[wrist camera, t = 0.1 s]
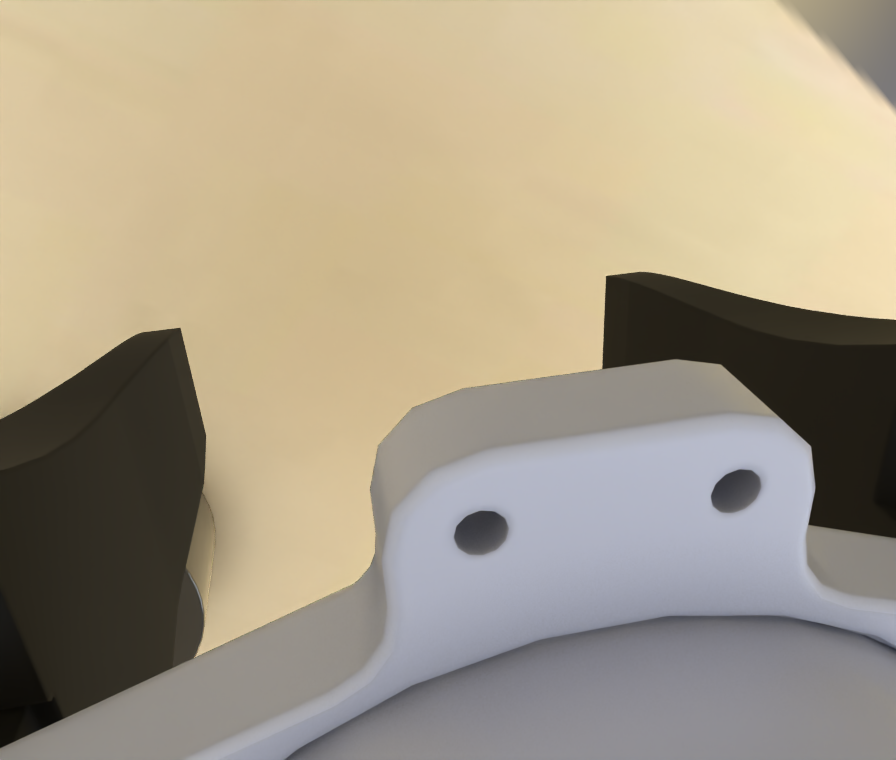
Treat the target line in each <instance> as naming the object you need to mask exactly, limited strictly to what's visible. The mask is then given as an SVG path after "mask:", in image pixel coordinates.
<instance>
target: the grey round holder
mask: <svg viewBox="0 0 896 760" xmlns="http://www.w3.org/2000/svg"><path fill="white" fill-rule="evenodd" d="M214 548H215V526H214V520H213V516H212V513H211V510H210V507H209V505H208V503H207V501H206V499H205V497H204V495H203V493H202V495H201V499H200V504H199V509H198V514H197V518H196V523H195V527H194V532H193V537H192V541H191V546H190V550H189V555H188V559H187V564H186V568H185V573H184V577H183V582H182V587H181V593H180V599H179V605H178V612H177V623H176V634H175V646H174V658H173V668H174V667H176V666H178V665H180V664H182V663H184V662H187V661H189V660H191V659H193V658H194V657H195V656H196V654H197V652H198V649H199V647H200V644H201V641H202V638H203V633H204V627H205V620H206V612H207V604H208V596H209V588H210V580H211V572H212V564H213V556H214Z"/></svg>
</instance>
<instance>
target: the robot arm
mask: <svg viewBox="0 0 896 760" xmlns="http://www.w3.org/2000/svg"><path fill="white" fill-rule="evenodd" d="M205 452H206V433H205V429H204V425H203V421H202V417H201V412H200V408H199V404H198V400H197V396H196V391H195V387H194V383H193V379H192V375H191V370H190V366H189V362H188V358H187V354H186V350H185V345H184V341H183V337H182V333H181V329H180V328H175V329H167V330H159V331H151V332H143V333H139V334H137V335H135V336H133V337H131V338H129V339H128V340H126V341H124V342H123V343H121V344H120V345H118V346H117V347H115V348H114V349H112V350H111V351H110V352H108V353H107V354H105V355H104V356H102V357H101V358H99V359H98V360H97V361H95V362H94V363H92V364H91V365H89V366H88V367H86V368H85V369H84V370H82V371H81V372H79V373H78V374H76V375H75V376H73V377H72V378H70V379H69V380H67V381H65V382H64V383H62V384H61V385H59V386H58V387H56V388H54V389H53V390H51V391H50V392H48V393H46V394H45V395H43V396H42V397H40V398H38V399H37V400H35V401H34V402H32V403H30V404H28V405H27V406H25V407H23V408H21V409H20V410H18V411H16V412H14V413H12V414H10V415H8V416H6V417H4V418H2V419H0V760H896V320H890V319H876V318H865V317H855V316H846V315H839V314H833V313H826V312H819V311H812V310H806V309H800V308H795V307H790V306H785V305H781V304H776V303H772V302H767V301H763V300H758V299H754V298H750V297H746V296H742V295H738V294H734V293H731V292H727V291H723V290H720V289H716V288H712V287H709V286H705V285H701V284H698V283H694V282H690V281H686V280H683V279H679V278H675V277H671V276H666V275H662V274H656V273H649V272H635V273H627V274H619V275H611V276H606V293H605V317H604V342H603V366H602V369H601V370H594V371H587V372H579V373H572V374H565V375H558V376H550V377H543V378H536V379H529V380H521V381H514V382H507V383H500V384H493V385H485V386H478V387H471V388H464V389H460V390H457V391H455V392H452V393H450V394H447V395H444V396H442V397H439V398H437V399H434V400H431V401H429V402H426V403H424V404H421V405H418V406H416V407H413V408H412V409H411V410H410V411H409V412H408V413H407V414H406V415H405V416H404V417H403V419H402V420H401V421H400V422H399V423H398V424H397V425H396V426H395V427H394V428H393V430H392V431H391V432H390V433H389V434H388V435H387V436H386V437H385V438H384V439H383V441H382V442H381V443H380V444H379V445H378V449H377V455H376V460H375V465H374V470H373V476H372V481H371V486H370V493H371V501H372V509H373V516H374V524H375V532H376V537H375V554H374V557H373V560H372V563H371V565H370V567H369V569H368V570H367V571H366V572H365V573H364V574H363V575H362V577H361V578H360V579H359V580H358V581H357V582H355V583H354V584H352V585H350V586H348V587H345V588H343V589H341V590H339V591H337V592H335V593H332V594H330V595H328V596H326V597H324V598H322V599H320V600H317V601H315V602H313V603H311V604H309V605H307V606H305V607H302V608H300V609H298V610H296V611H294V612H292V613H290V614H287V615H285V616H283V617H281V618H279V619H277V620H275V621H272V622H270V623H268V624H266V625H264V626H262V627H260V628H257V629H255V630H253V631H251V632H249V633H247V634H244V635H242V636H240V637H238V638H236V639H234V640H232V641H229V642H227V643H225V644H223V645H221V646H219V647H217V648H214V649H212V650H210V651H208V652H206V653H204V654H202V655H199V656H197V657H195V658H193V659H191V660H189V661H187V662H184V663H182V664H180V665H178V666H176V667H174V668H173V658H174V646H175V634H176V623H177V612H178V605H179V599H180V593H181V587H182V582H183V577H184V573H185V568H186V564H187V559H188V555H189V550H190V546H191V541H192V537H193V532H194V527H195V523H196V518H197V514H198V509H199V504H200V499H201V495H202V490H203V484H204V472H205Z"/></svg>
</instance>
